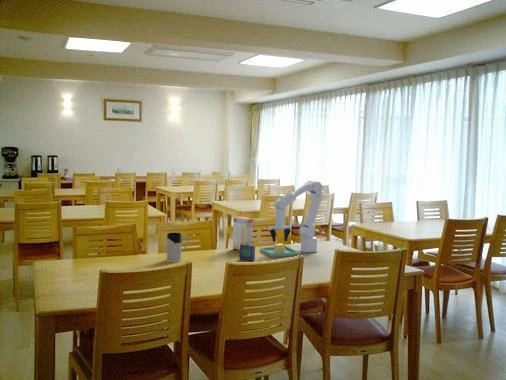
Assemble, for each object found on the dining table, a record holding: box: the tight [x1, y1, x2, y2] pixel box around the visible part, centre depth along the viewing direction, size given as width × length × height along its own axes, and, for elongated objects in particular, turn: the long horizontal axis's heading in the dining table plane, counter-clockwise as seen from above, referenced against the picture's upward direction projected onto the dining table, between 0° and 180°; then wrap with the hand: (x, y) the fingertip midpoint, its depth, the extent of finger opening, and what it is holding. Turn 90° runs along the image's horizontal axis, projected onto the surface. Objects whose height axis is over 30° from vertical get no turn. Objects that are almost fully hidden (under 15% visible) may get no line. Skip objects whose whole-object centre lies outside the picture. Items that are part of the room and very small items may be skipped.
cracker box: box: [232, 215, 254, 252], centre depth 284 cm, size 14×6×21 cm, turn 36°
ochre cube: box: [273, 242, 286, 253], centre depth 279 cm, size 5×5×5 cm
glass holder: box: [165, 232, 189, 263], centre depth 257 cm, size 9×14×15 cm, turn 137°
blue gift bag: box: [239, 242, 256, 262], centre depth 259 cm, size 9×3×11 cm, turn 68°
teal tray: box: [259, 245, 300, 258], centre depth 279 cm, size 18×18×2 cm
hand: (279, 241), depth 279 cm, fingers open, 7 cm apart
